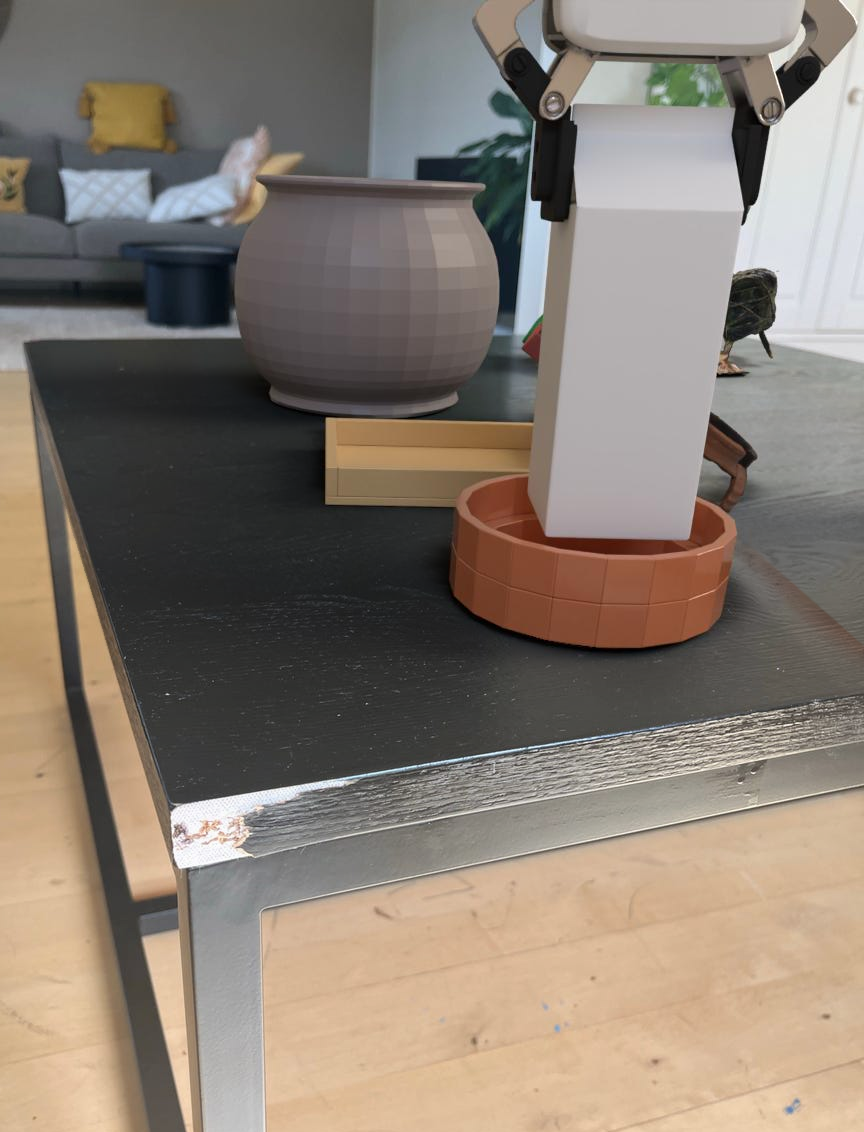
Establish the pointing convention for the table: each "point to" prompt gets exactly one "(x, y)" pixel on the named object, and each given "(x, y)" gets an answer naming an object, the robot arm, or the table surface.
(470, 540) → the bowl
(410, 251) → the round clay pot
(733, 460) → the brown curved piece
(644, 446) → the milk carton
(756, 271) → the plant with pod
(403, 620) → the table surface
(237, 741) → the table surface
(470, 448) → the tray
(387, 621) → the table surface
